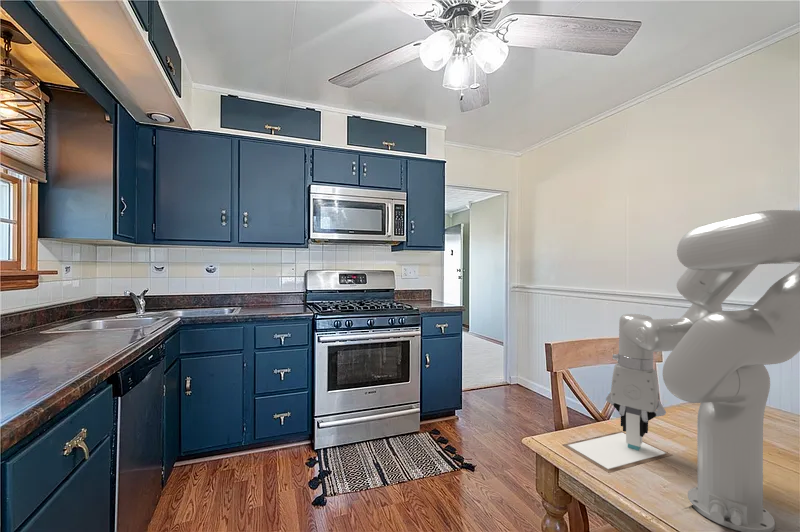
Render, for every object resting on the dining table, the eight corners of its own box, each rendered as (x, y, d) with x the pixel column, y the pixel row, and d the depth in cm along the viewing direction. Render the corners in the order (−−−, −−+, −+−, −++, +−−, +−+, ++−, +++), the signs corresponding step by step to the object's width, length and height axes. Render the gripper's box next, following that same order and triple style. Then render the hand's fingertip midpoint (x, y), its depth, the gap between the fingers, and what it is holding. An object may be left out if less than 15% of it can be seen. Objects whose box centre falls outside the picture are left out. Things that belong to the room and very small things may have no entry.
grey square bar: (639, 451, 92) (639, 407, 92) (626, 447, 94) (625, 404, 94) (642, 447, 94) (642, 404, 94) (628, 443, 96) (628, 401, 96)
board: (621, 433, 104) (621, 431, 104) (673, 458, 91) (673, 454, 91) (561, 447, 96) (561, 444, 96) (608, 476, 83) (608, 472, 83)
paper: (622, 433, 103) (622, 432, 103) (666, 453, 92) (666, 452, 92) (567, 445, 96) (567, 445, 96) (608, 469, 85) (608, 468, 85)
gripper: (596, 358, 97) (595, 426, 98) (672, 373, 86) (670, 449, 86) (604, 353, 102) (603, 417, 103) (677, 366, 91) (675, 438, 92)
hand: (634, 431), depth 95 cm, fingers closed on grey square bar, 3 cm apart
